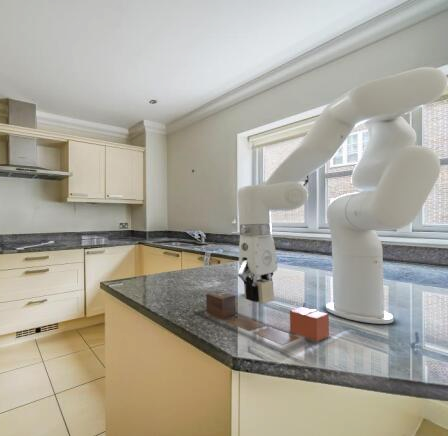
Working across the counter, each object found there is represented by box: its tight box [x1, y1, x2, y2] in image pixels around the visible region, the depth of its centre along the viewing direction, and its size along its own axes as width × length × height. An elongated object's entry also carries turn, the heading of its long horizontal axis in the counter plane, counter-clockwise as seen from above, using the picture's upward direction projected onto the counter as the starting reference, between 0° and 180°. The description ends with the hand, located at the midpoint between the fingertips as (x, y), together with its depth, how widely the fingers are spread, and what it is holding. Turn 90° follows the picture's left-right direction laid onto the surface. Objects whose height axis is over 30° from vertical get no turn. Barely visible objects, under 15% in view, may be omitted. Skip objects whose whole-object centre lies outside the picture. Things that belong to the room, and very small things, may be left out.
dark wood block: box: [205, 290, 236, 319], centre depth 64 cm, size 5×5×5 cm
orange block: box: [289, 306, 330, 342], centre depth 53 cm, size 6×5×5 cm
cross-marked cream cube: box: [243, 278, 275, 304], centre depth 66 cm, size 5×5×5 cm
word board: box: [203, 310, 300, 346], centre depth 58 cm, size 9×22×1 cm, turn 28°
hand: (259, 297), depth 66 cm, fingers closed on cross-marked cream cube, 5 cm apart
